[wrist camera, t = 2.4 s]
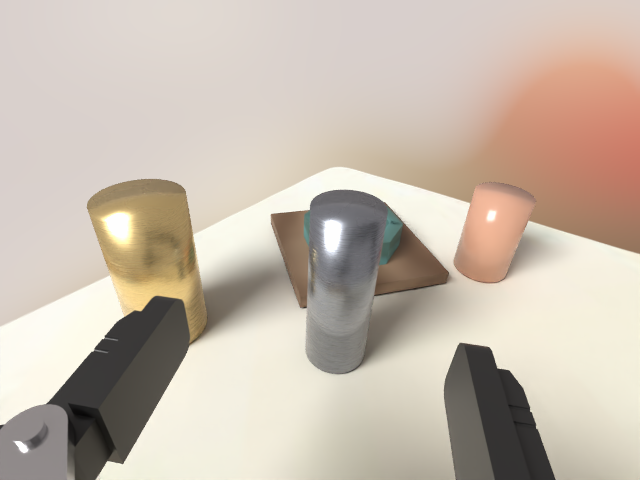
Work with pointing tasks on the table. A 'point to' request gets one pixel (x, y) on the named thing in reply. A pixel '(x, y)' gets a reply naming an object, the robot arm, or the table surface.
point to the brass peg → (149, 246)
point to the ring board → (395, 262)
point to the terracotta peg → (492, 231)
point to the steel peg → (342, 276)
